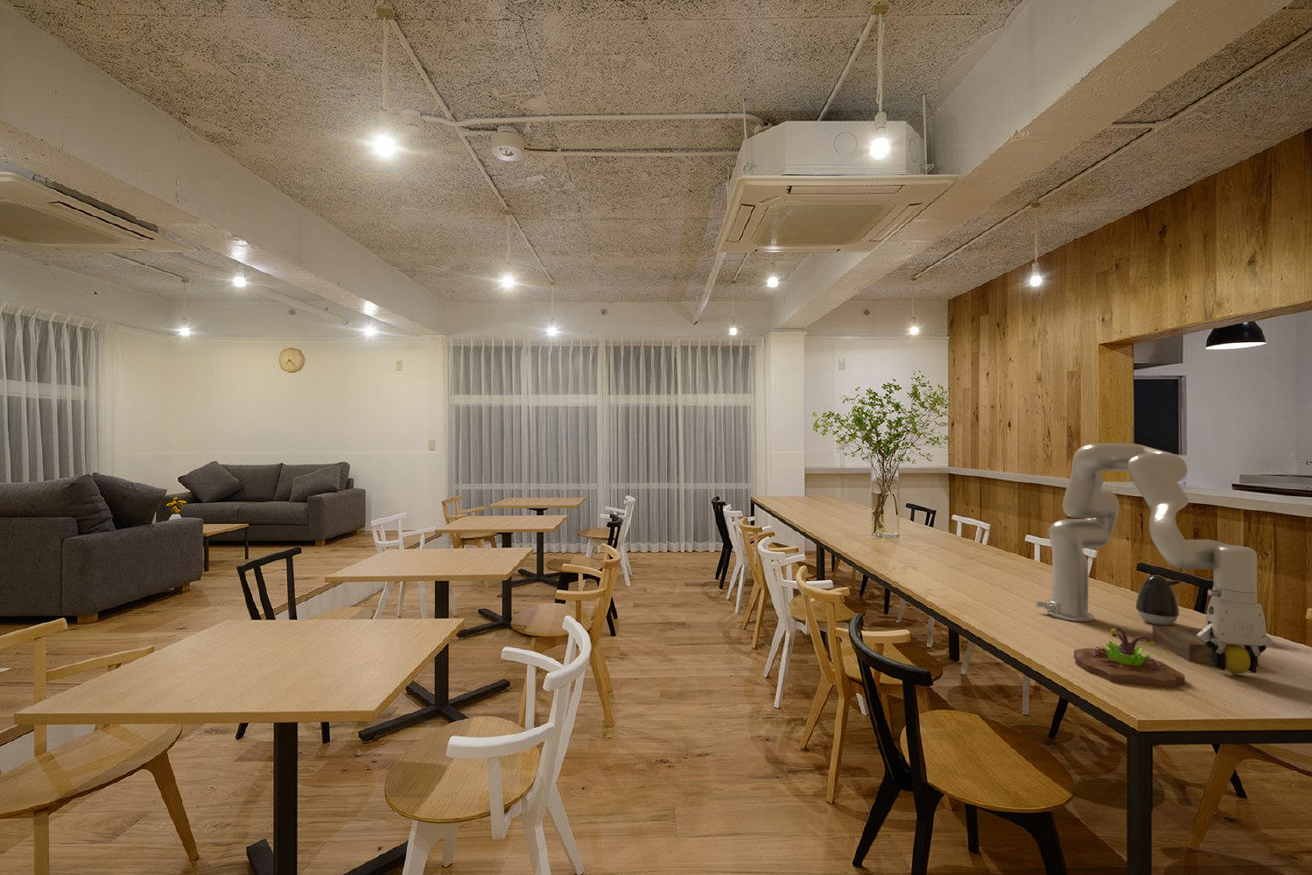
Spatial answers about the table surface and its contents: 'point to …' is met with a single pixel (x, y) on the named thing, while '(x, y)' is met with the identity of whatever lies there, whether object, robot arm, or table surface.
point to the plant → (1127, 664)
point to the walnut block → (1183, 643)
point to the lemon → (1236, 659)
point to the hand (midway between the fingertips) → (1234, 668)
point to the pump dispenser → (1158, 601)
